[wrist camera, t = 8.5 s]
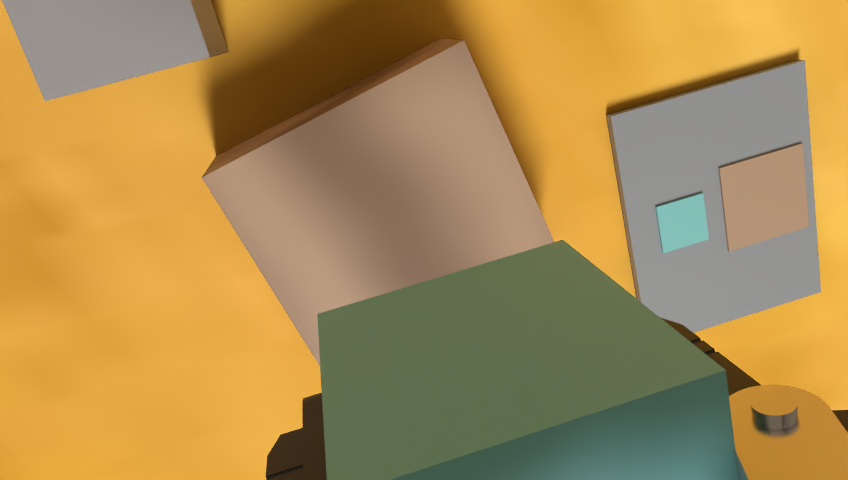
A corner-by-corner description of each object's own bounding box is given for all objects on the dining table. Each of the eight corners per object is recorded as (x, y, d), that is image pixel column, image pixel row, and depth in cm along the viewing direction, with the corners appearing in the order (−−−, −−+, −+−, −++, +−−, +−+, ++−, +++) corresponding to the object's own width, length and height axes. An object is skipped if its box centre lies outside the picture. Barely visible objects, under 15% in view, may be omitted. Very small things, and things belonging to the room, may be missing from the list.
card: (797, 59, 27) (806, 60, 27) (814, 288, 30) (822, 292, 30) (606, 115, 26) (612, 116, 26) (644, 342, 30) (649, 347, 29)
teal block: (562, 240, 12) (725, 370, 8) (603, 447, 14) (761, 665, 9) (317, 314, 12) (327, 499, 7) (385, 519, 13) (432, 787, 9)
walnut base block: (439, 38, 25) (464, 40, 21) (535, 246, 28) (571, 281, 24) (217, 154, 25) (201, 177, 21) (337, 351, 28) (342, 402, 24)
